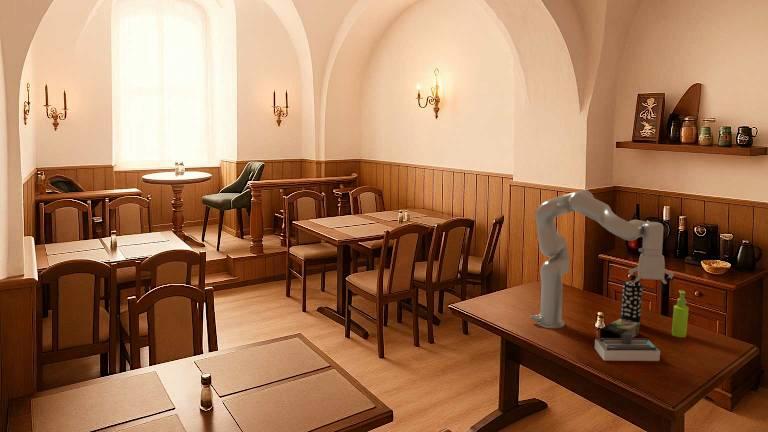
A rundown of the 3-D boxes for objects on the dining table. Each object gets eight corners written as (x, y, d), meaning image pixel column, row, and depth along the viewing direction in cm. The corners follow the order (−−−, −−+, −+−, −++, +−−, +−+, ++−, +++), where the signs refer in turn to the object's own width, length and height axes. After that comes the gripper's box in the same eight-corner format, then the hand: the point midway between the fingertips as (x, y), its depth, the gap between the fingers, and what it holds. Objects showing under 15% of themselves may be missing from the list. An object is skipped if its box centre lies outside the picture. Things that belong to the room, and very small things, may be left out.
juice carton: (619, 328, 268) (620, 315, 267) (640, 334, 261) (641, 321, 260) (598, 340, 254) (599, 327, 253) (620, 347, 247) (621, 334, 246)
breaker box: (603, 360, 234) (604, 348, 233) (594, 348, 245) (595, 336, 244) (659, 360, 233) (660, 348, 232) (647, 348, 244) (648, 337, 243)
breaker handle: (624, 346, 237) (625, 334, 236) (622, 343, 239) (623, 332, 239) (630, 346, 237) (631, 334, 236) (628, 343, 239) (629, 332, 238)
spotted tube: (642, 327, 267) (645, 286, 264) (624, 327, 268) (627, 286, 264) (635, 321, 276) (638, 280, 272) (617, 321, 276) (620, 281, 272)
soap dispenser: (684, 332, 261) (688, 290, 258) (687, 338, 255) (691, 294, 251) (670, 330, 263) (673, 288, 260) (672, 336, 257) (676, 293, 253)
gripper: (629, 252, 241) (627, 291, 244) (676, 255, 235) (673, 295, 238) (629, 248, 248) (627, 286, 251) (674, 251, 242) (671, 290, 245)
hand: (649, 291), depth 244 cm, fingers open, 9 cm apart
